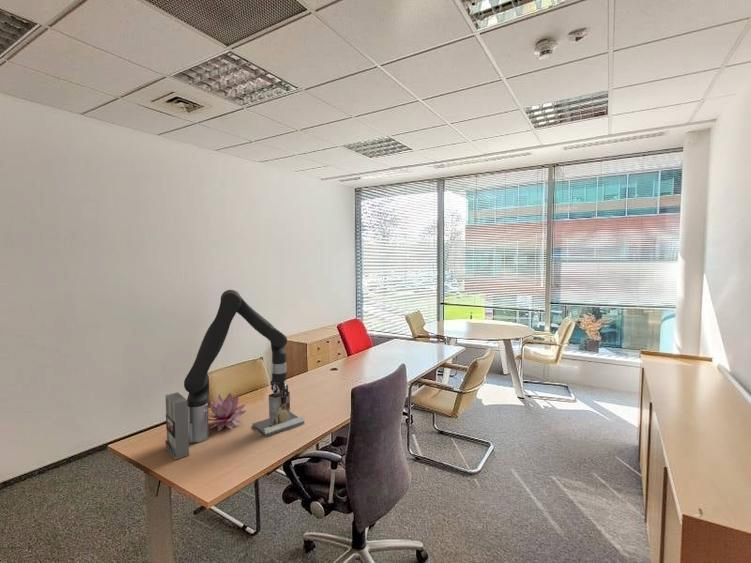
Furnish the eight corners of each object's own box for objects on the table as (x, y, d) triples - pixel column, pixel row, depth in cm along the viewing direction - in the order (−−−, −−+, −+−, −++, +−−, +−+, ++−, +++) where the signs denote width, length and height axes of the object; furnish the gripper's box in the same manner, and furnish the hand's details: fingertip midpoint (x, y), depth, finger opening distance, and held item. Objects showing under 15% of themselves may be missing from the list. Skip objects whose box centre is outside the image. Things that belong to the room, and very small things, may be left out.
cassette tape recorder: (165, 448, 168) (163, 395, 166) (179, 444, 172) (177, 392, 170) (174, 460, 158) (172, 404, 156) (189, 455, 162) (187, 400, 161)
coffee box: (281, 418, 196) (281, 389, 195) (290, 421, 193) (290, 391, 192) (268, 425, 188) (268, 394, 187) (278, 428, 185) (277, 397, 184)
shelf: (265, 437, 179) (265, 429, 179) (252, 426, 190) (252, 418, 190) (304, 423, 194) (304, 416, 193) (290, 414, 205) (290, 407, 205)
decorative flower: (254, 419, 198) (254, 392, 197) (228, 438, 177) (228, 407, 177) (221, 415, 204) (221, 388, 203) (192, 432, 183) (191, 402, 183)
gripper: (292, 372, 186) (292, 403, 187) (279, 366, 197) (279, 395, 198) (279, 375, 181) (279, 407, 182) (266, 369, 192) (266, 399, 193)
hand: (279, 401), depth 190 cm, fingers open, 8 cm apart
